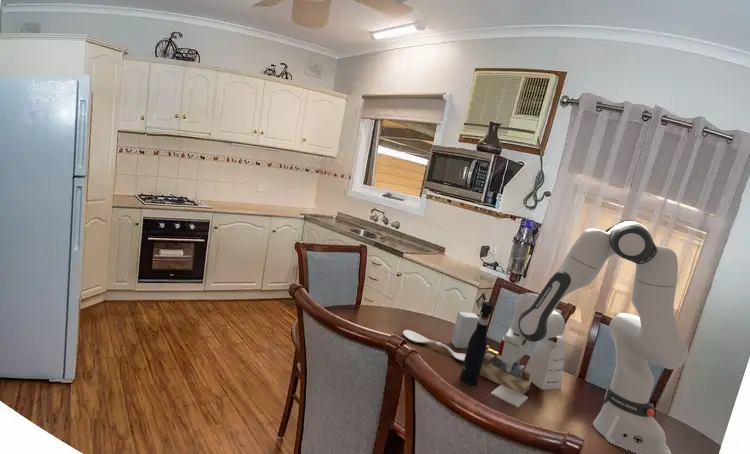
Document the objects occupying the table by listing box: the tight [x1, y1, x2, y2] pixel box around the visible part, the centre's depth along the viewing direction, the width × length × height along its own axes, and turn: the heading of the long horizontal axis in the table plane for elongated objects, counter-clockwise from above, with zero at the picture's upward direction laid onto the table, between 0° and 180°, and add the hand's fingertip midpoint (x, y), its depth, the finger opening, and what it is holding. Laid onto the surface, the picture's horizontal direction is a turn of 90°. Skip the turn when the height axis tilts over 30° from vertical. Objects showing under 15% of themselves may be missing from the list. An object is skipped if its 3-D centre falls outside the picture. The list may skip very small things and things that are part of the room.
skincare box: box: [450, 311, 480, 350], centre depth 190 cm, size 8×6×15 cm
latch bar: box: [485, 344, 499, 356], centre depth 168 cm, size 6×2×2 cm, turn 52°
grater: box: [523, 335, 567, 391], centre depth 170 cm, size 10×10×20 cm
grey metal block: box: [500, 362, 525, 377], centre depth 163 cm, size 7×4×3 cm, turn 52°
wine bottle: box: [459, 301, 494, 386], centre depth 158 cm, size 6×6×30 cm
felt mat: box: [490, 384, 529, 408], centre depth 154 cm, size 10×10×1 cm
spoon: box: [402, 329, 466, 363], centre depth 182 cm, size 9×32×4 cm, turn 58°
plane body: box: [479, 352, 532, 395], centre depth 164 cm, size 18×7×8 cm, turn 52°
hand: (511, 368), depth 163 cm, fingers open, 5 cm apart
